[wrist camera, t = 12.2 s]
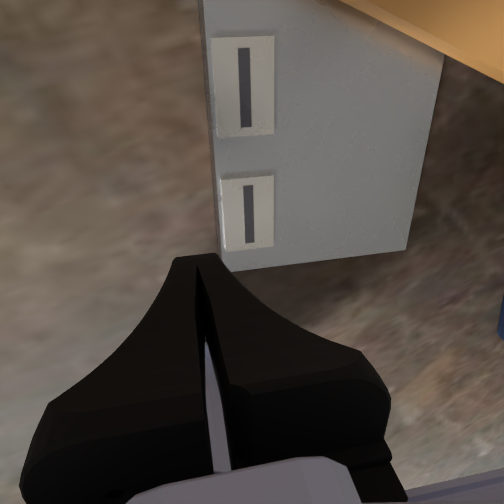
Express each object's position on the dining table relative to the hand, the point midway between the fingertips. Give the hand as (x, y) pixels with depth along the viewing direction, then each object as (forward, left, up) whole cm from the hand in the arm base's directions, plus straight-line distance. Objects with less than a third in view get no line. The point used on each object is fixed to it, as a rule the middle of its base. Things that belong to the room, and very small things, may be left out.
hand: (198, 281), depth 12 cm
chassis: (+2, -7, -10) cm, 13 cm away
